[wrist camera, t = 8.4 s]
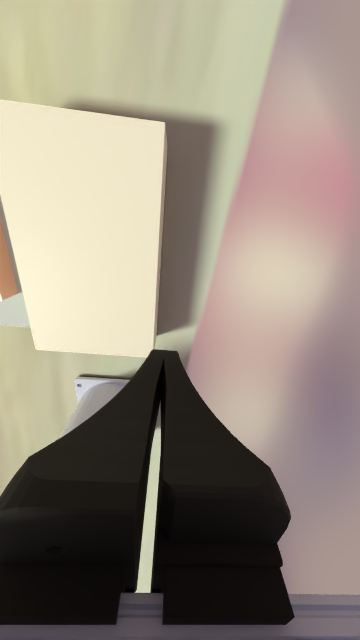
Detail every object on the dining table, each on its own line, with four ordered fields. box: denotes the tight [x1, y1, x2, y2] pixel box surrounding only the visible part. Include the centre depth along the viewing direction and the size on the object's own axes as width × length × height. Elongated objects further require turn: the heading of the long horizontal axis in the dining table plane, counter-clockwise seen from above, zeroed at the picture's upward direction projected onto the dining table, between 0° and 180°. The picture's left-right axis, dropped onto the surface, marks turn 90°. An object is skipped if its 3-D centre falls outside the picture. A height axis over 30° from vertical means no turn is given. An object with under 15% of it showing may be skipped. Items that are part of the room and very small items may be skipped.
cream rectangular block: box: [0, 99, 168, 358], centre depth 16 cm, size 16×10×4 cm, turn 174°
